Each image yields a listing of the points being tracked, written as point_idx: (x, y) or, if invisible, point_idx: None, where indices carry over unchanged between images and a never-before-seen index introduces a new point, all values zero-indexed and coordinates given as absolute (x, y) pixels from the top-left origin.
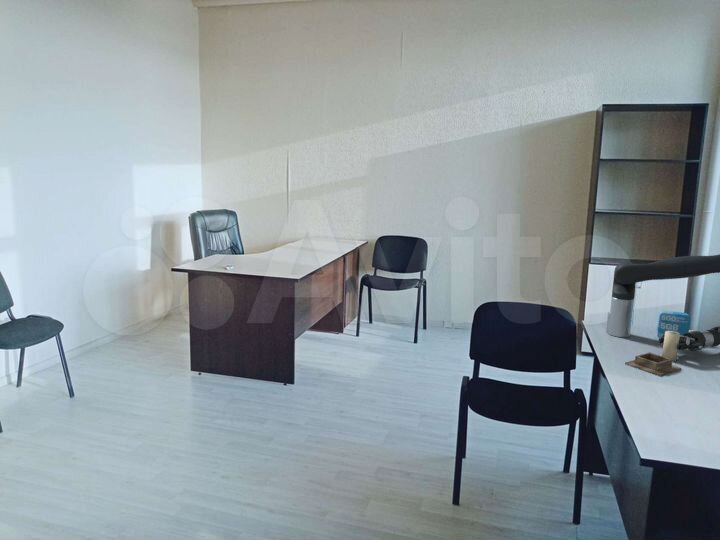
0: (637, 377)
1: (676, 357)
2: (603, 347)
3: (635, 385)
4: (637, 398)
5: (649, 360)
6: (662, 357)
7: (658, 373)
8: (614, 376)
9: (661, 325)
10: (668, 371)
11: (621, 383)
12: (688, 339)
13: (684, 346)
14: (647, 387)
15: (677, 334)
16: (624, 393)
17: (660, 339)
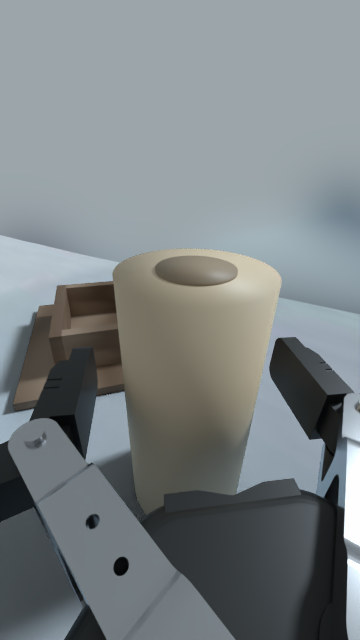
0: (74, 280)
1: (137, 486)
2: (345, 320)
3: (45, 264)
4: (6, 250)
5: (98, 283)
6: (101, 326)
7: (48, 308)
8: (106, 262)
9: None
10: (35, 336)
11: (70, 258)
12: (134, 598)
13: (43, 397)
14: (20, 271)
15: (129, 273)
16: (36, 248)
17: (276, 345)
